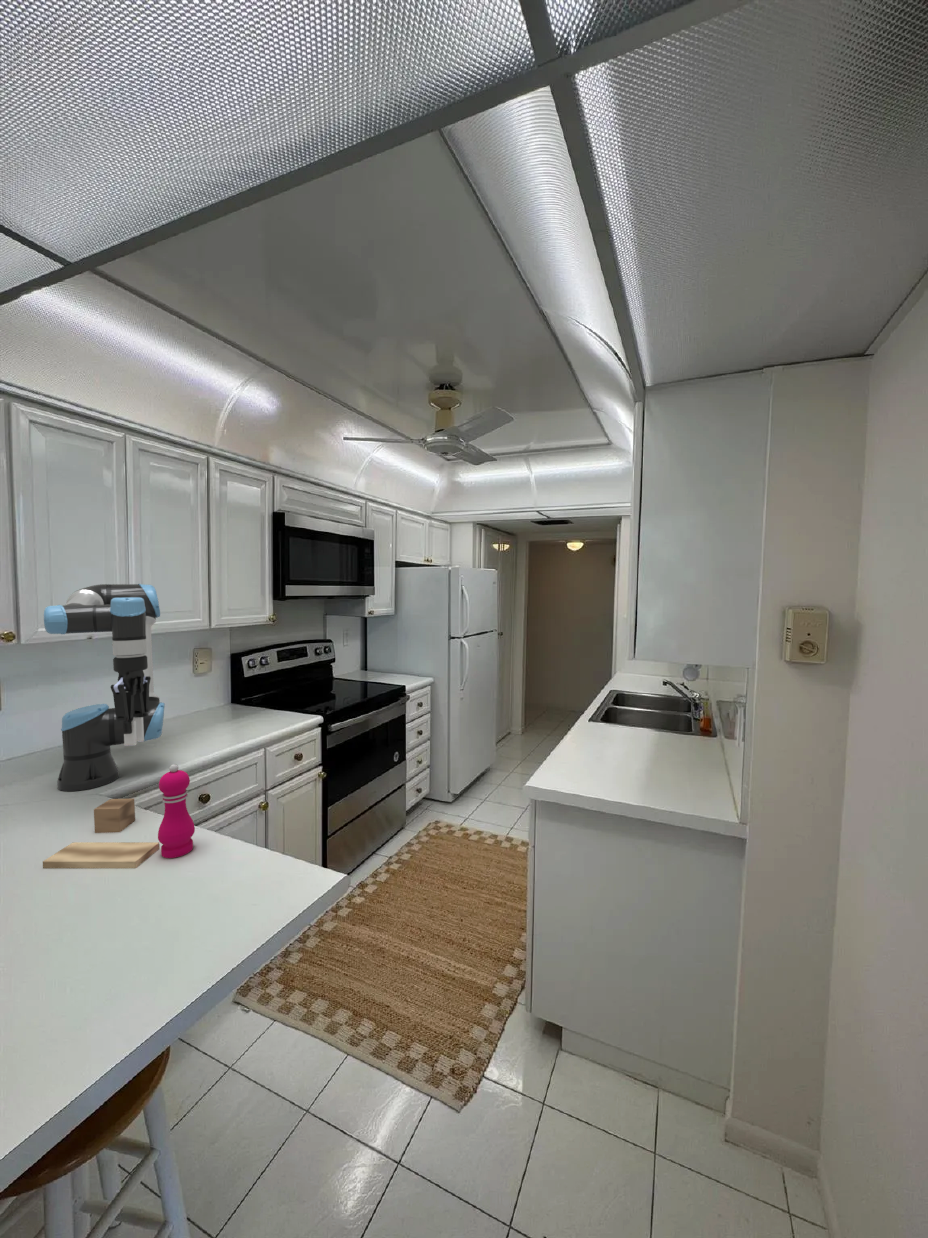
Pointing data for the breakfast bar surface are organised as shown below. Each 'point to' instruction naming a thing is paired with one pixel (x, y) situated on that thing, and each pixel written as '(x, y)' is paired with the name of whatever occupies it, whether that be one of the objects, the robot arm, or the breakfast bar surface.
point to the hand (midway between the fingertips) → (134, 743)
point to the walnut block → (114, 815)
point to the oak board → (102, 855)
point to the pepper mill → (175, 815)
